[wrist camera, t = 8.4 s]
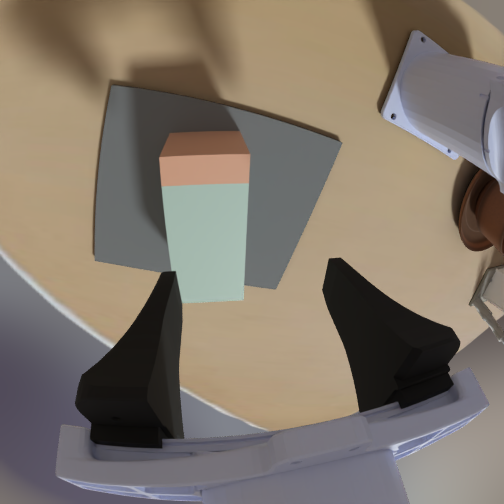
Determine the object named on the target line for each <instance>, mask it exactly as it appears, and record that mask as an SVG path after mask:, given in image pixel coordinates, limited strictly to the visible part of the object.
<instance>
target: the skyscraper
mask: <svg viewBox="0 0 504 504" xmlns="http://www.w3.org/2000/svg"><path fill="white" fill-rule="evenodd" d="M485 301H489V302H490V303H491V304H493V305H494V306H496V307H497V308H499V309H500V310H501V311H503V312H504V265H502V266H498V267H494V268H490V269H487V271H486V273H485V275H484V277H483V279H482V281H481V283H480V285H479V287H478V289H477V291H476V293H475V294H474V296H473V298H472V300H471V302H470V304H469V305H470V306H473V305H474V306H475V308H476V309H477V311H478V312H479V314H480V315H481V317H482V319H483V320H484V321H486V322H487V323H488V325H489V326H490V328H491V329H492V331H493V332H494V334H495V336H496V337H497V339H498V341H499V342H500V341H502V342H503V344H504V331H503V330H502V328H501V327H500V326H499V324H498V323H497V321H496V320H495V319H494V317H493V316H492V312H491V311H490V310H489V309H488V307H487V306H486V305H485V304H484V302H485Z"/></svg>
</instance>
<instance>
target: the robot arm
mask: <svg viewBox="0 0 504 504" xmlns="http://www.w3.org/2000/svg"><path fill="white" fill-rule="evenodd" d="M421 37H422V38H423V42H422V41H421ZM392 114H394V117H393V118H392V119H391V115H392ZM381 116H382V118H384V119H386V120H387V121H389V122H391V123H393V124H395V125H397V126H399V127H401V128H402V129H404V130H406V131H408V132H410V133H411V134H413V135H415V136H417V137H418V138H420V139H422V140H423V141H425V142H427V143H428V144H430V145H432V146H433V147H435V148H436V149H438V150H440V151H441V152H443V153H444V154H446V155H447V156H449V157H450V158H452V159H454V160H455V159H457V158H458V157H459V155H460V156H462V157H463V158H465V159H467V160H468V161H470V162H471V163H473V164H475V165H476V166H478V167H479V168H481V169H482V170H484V171H485V172H487V173H488V174H490V175H491V176H493V177H494V178H496V180H497V181H498V182H499V185H500V192H502V193H503V194H504V67H503V66H499V65H495V64H492V63H488V62H484V61H479V60H475V59H471V58H466V57H461V56H456V55H450V54H449V53H447V52H446V51H445V50H444V49H443V48H441V47H440V46H439V45H438V44H436V43H435V42H434V41H432V40H431V39H430V38H429V37H427V36H426V35H425V34H423V33H422V32H420V31H419V30H413V31H412V32H411V35H410V37H409V40H408V43H407V46H406V48H405V51H404V54H403V56H402V59H401V62H400V64H399V67H398V70H397V72H396V75H395V77H394V80H393V82H392V85H391V87H390V90H389V92H388V95H387V97H386V100H385V102H384V105H383V107H382V110H381ZM448 149H449V150H448ZM322 291H323V294H324V298H325V301H326V305H327V308H328V310H329V312H330V315H331V317H332V319H333V322H334V324H335V326H336V329H337V331H338V333H339V335H340V338H341V340H342V342H343V345H344V348H345V350H346V354H347V357H348V361H349V364H350V368H351V372H352V376H353V380H354V384H355V389H356V394H357V399H358V406H359V412H360V413H358V414H354V415H350V416H346V417H342V418H338V419H334V420H330V421H325V422H321V423H316V424H311V425H306V426H301V427H296V428H290V429H284V430H278V431H271V432H264V433H257V434H247V435H238V436H227V437H213V438H194V439H184V432H183V423H182V413H181V400H180V384H179V357H180V345H181V333H182V300H181V295H180V290H179V285H178V279H177V274H176V271H166V272H162V273H161V275H160V277H159V279H158V281H157V283H156V285H155V287H154V289H153V291H152V293H151V295H150V297H149V298H148V300H147V302H146V304H145V305H144V307H143V309H142V310H141V312H140V313H139V315H138V316H137V318H136V320H135V321H134V322H133V324H132V325H131V327H130V328H129V329H128V331H127V332H126V333H125V334H124V336H123V337H122V338H121V339H120V340H119V341H118V343H117V344H116V345H115V346H114V347H113V348H112V349H111V350H110V351H109V352H108V353H107V354H106V355H105V356H104V357H103V358H102V359H101V360H100V361H99V362H98V363H96V364H95V365H94V366H93V367H91V368H90V369H89V370H88V371H87V372H85V373H84V374H82V376H81V379H80V382H79V386H78V390H77V395H76V401H75V405H76V407H77V409H78V410H79V412H80V413H81V414H82V415H84V416H85V417H86V418H87V419H88V420H89V421H90V422H91V423H92V424H91V430H90V429H87V428H84V427H77V426H69V425H61V430H60V437H59V445H58V454H57V463H56V476H57V477H59V478H61V479H63V480H66V481H68V482H70V483H72V484H74V485H76V486H79V487H81V488H84V489H88V490H93V491H100V492H106V493H112V494H118V495H125V496H132V497H141V498H150V499H161V500H176V501H202V503H203V504H410V503H409V500H408V497H407V494H406V491H405V488H404V485H403V482H402V479H401V476H400V473H399V470H398V467H397V464H396V460H399V459H401V458H403V457H405V456H408V455H410V454H412V453H414V452H416V451H418V450H420V449H422V448H424V447H426V446H428V445H430V444H432V443H434V442H436V441H438V440H440V439H442V438H444V437H445V436H447V435H449V434H451V433H453V432H455V431H457V430H459V429H460V428H462V427H464V426H465V425H466V424H468V423H469V422H470V421H471V420H473V419H474V418H475V417H476V416H477V415H479V414H480V413H481V412H482V411H483V410H485V409H486V408H487V407H488V406H489V402H488V400H487V398H486V396H485V394H484V392H483V390H482V389H481V387H480V385H479V383H478V381H477V380H476V377H475V375H474V374H473V372H472V370H471V369H470V368H469V367H468V368H466V369H464V370H462V371H459V372H457V373H455V374H453V375H452V376H451V377H450V376H449V374H448V372H449V371H450V368H449V366H448V363H449V361H450V360H451V359H452V358H453V356H454V355H455V354H456V352H457V351H458V349H459V347H460V340H459V339H458V337H457V335H456V334H455V332H454V331H453V329H452V328H450V327H447V326H444V325H442V324H439V323H436V322H433V321H431V320H429V319H427V318H424V317H422V316H420V315H418V314H416V313H414V312H412V311H411V310H409V309H407V308H405V307H403V306H402V305H400V304H399V303H397V302H396V301H394V300H392V299H391V298H390V297H388V296H387V295H385V294H384V293H383V292H381V291H380V290H379V289H377V288H376V287H375V286H374V285H372V284H371V283H370V282H369V281H367V280H366V279H365V278H364V277H363V276H361V275H360V274H359V273H358V272H357V271H356V270H355V269H353V268H352V267H351V266H350V265H349V264H348V263H346V262H345V261H344V260H343V259H342V258H330V259H329V261H328V265H327V270H326V275H325V280H324V284H323V289H322Z"/></svg>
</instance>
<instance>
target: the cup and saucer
mask: <svg viewBox="0 0 504 504" xmlns="http://www.w3.org/2000/svg"><path fill="white" fill-rule="evenodd" d="M459 233H460V237H461V240H462V241H463V243H464V245H465V246H466V247H467V248H468V249H469V250H472V251H483V250H486V249H488V248H490V247H491V246H493V245H494V246H495V247H496V248H497V249H498V250H499V251H500V253H501V254H502V255H503V256H504V194H503V193H502V192H500V185H499V182H498V181H497V180H496V178H494V177H493V176H491V175H490V174H488V173H487V172H485V171H484V170H482V169H481V168H480V169H479V171H478V172H477V173H476V175H475V176H474V178H473V179H472V181H471V183H470V184H469V186H468V188H467V191H466V193H465V196H464V198H463V201H462V205H461V210H460V216H459Z"/></svg>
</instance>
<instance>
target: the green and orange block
mask: <svg viewBox="0 0 504 504" xmlns="http://www.w3.org/2000/svg"><path fill="white" fill-rule="evenodd" d="M159 161H160V174H161V186H162V196H163V206H164V215H165V224H166V233H167V241H168V248H169V256H170V263H171V270H172V271H176V274H177V279H178V285H179V290H180V295H181V300H182V303H198V302H218V301H236V300H244V277H245V255H246V234H247V213H248V192H249V172H250V152H249V150H248V148H247V146H246V143H245V141H244V139H243V137H242V135H241V132H240V131H202V132H179V133H170V134H169V136H168V138H167V141H166V143H165V145H164V147H163V150H162V152H161V154H160V157H159Z"/></svg>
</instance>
